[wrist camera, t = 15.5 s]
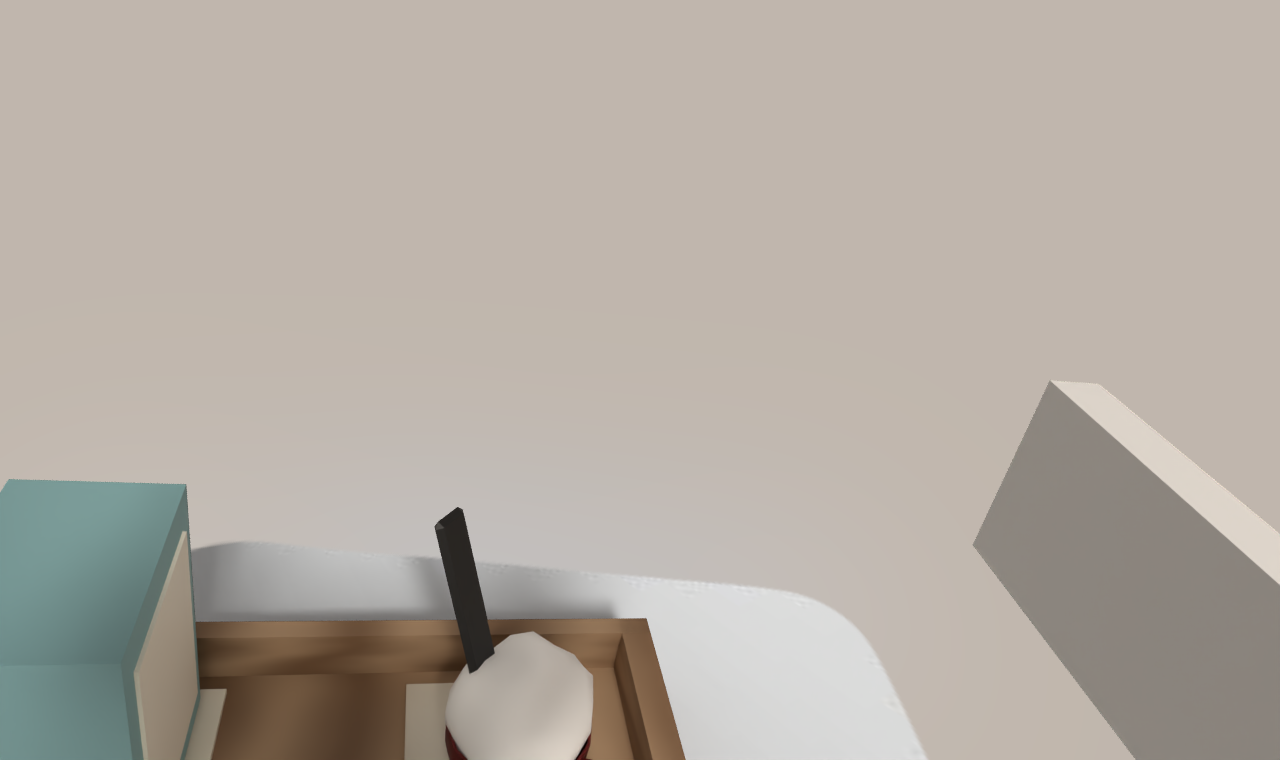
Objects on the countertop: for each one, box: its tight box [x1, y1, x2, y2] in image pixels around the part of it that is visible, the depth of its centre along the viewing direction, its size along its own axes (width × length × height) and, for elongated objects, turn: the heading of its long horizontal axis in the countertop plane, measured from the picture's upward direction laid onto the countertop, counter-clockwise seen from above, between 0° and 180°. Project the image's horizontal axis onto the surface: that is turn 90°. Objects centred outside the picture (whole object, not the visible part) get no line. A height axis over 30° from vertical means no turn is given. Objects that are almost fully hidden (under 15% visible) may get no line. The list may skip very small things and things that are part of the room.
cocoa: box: [435, 507, 593, 760], centre depth 38 cm, size 10×6×12 cm, turn 40°
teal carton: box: [0, 479, 200, 760], centre depth 34 cm, size 6×9×12 cm
